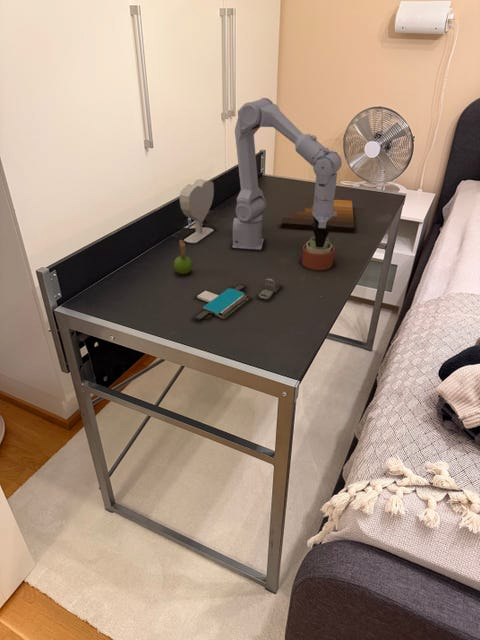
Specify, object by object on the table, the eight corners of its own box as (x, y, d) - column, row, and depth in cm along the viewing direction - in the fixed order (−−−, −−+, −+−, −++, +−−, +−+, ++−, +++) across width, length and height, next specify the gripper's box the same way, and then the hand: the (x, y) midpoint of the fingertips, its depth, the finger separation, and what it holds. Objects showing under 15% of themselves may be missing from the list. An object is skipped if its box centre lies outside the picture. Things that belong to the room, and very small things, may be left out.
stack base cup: (301, 269, 142) (302, 254, 140) (302, 254, 150) (303, 240, 147) (333, 271, 141) (335, 256, 138) (332, 256, 149) (334, 242, 146)
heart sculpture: (204, 225, 169) (202, 175, 159) (216, 228, 167) (215, 177, 157) (180, 241, 158) (176, 189, 148) (193, 244, 156) (190, 191, 146)
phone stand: (222, 280, 136) (222, 275, 135) (257, 292, 131) (257, 287, 130) (177, 311, 123) (177, 306, 122) (214, 326, 117) (214, 321, 116)
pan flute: (281, 228, 168) (353, 233, 164) (282, 219, 166) (354, 224, 162) (286, 203, 188) (350, 207, 185) (287, 195, 186) (351, 199, 183)
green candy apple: (176, 280, 136) (173, 242, 130) (173, 270, 142) (170, 232, 135) (195, 277, 138) (192, 239, 131) (191, 267, 143) (188, 230, 136)
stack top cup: (304, 267, 143) (306, 249, 140) (305, 256, 149) (306, 238, 146) (329, 269, 142) (332, 250, 139) (329, 258, 148) (331, 239, 145)
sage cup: (308, 263, 143) (310, 241, 140) (308, 257, 148) (310, 235, 145) (326, 264, 143) (329, 242, 139) (326, 258, 147) (328, 236, 144)
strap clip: (267, 301, 127) (268, 287, 125) (257, 298, 128) (257, 284, 126) (281, 287, 133) (281, 273, 131) (271, 284, 135) (272, 271, 132)
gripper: (339, 207, 128) (333, 252, 135) (337, 189, 140) (332, 232, 147) (313, 205, 129) (308, 251, 136) (313, 188, 140) (309, 231, 148)
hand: (319, 241), depth 142 cm, fingers open, 7 cm apart
